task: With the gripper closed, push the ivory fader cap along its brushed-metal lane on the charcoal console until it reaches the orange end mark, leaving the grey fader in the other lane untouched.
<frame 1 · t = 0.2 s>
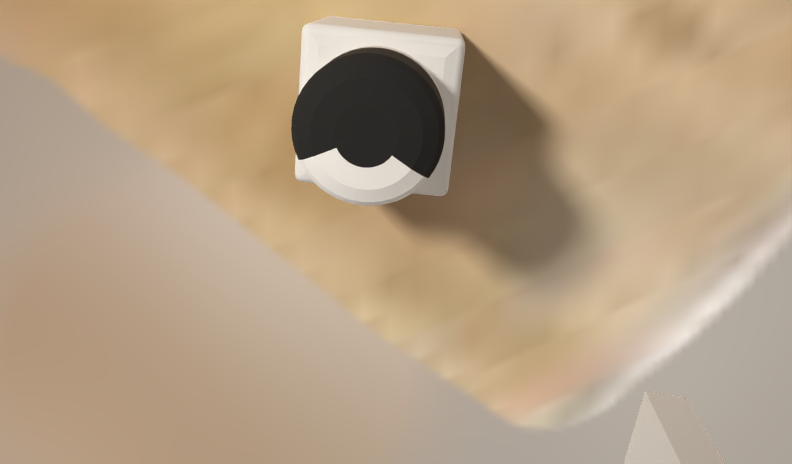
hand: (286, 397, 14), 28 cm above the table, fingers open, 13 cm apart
medicine bottle: (387, 90, 40), on the table
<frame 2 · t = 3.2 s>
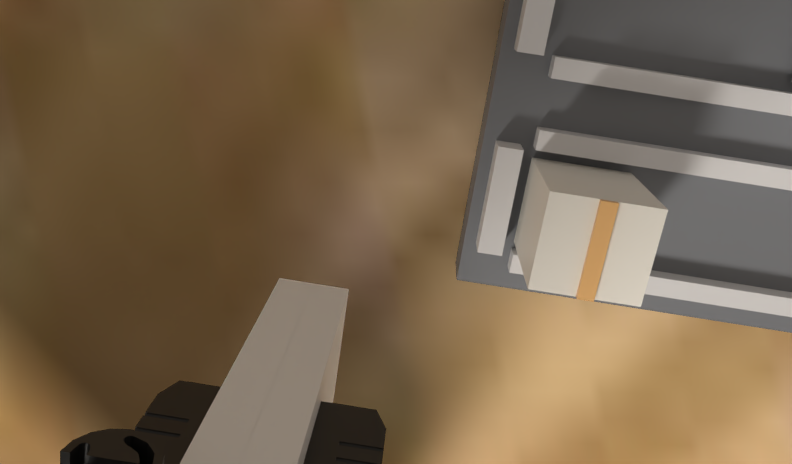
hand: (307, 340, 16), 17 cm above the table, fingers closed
console: (725, 123, 31), on the table
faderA: (583, 228, 28), point 5 cm above the table, slide at 0.0 cm
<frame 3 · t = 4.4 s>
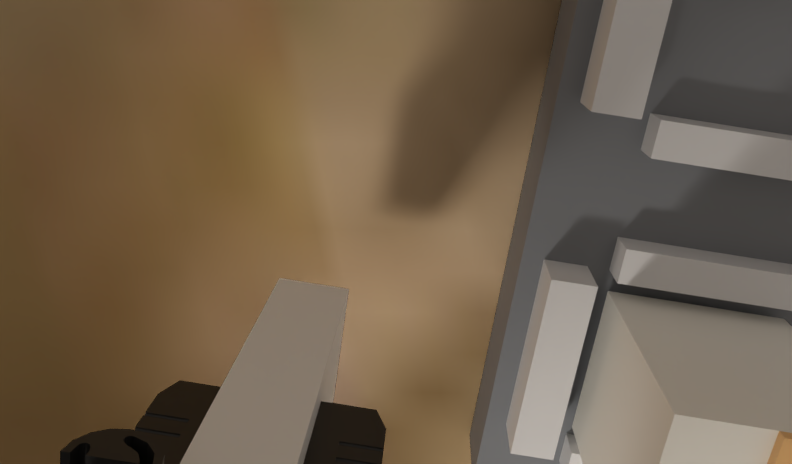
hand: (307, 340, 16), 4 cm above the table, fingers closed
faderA: (713, 440, 15), point 5 cm above the table, slide at 0.0 cm
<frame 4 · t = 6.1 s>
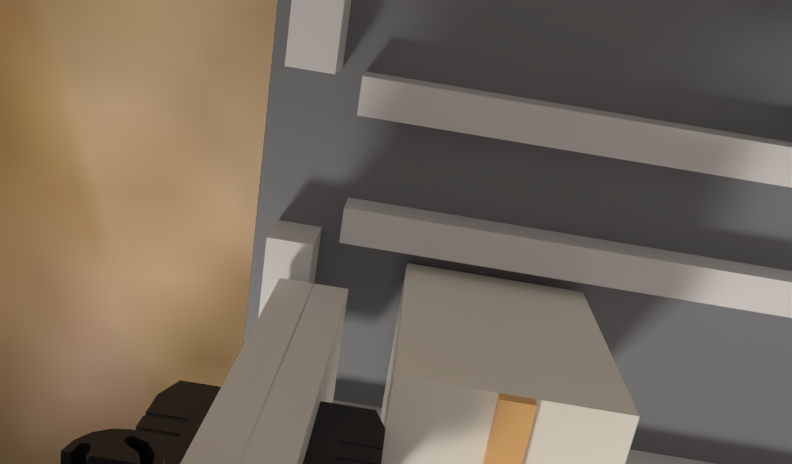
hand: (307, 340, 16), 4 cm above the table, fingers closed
console: (686, 189, 18), on the table
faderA: (486, 409, 15), point 5 cm above the table, slide at 1.5 cm, touching gripper
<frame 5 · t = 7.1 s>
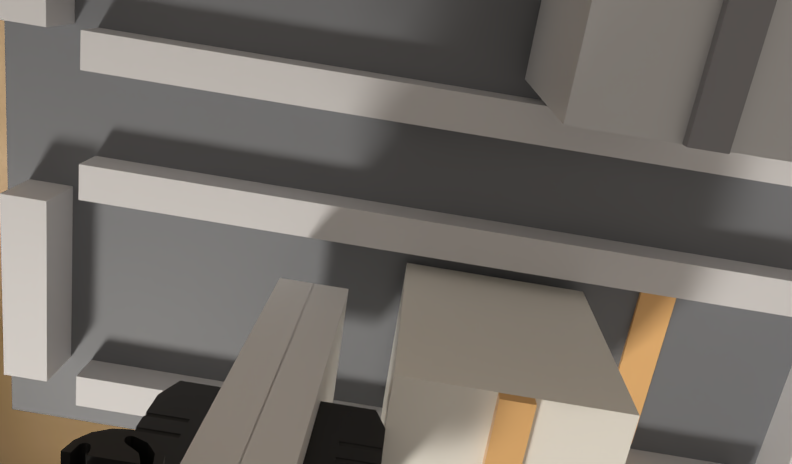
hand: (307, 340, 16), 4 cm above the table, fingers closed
console: (455, 150, 18), on the table
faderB: (685, 9, 12), point 5 cm above the table, slide at 0.0 cm
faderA: (486, 409, 15), point 5 cm above the table, slide at 7.3 cm, touching gripper
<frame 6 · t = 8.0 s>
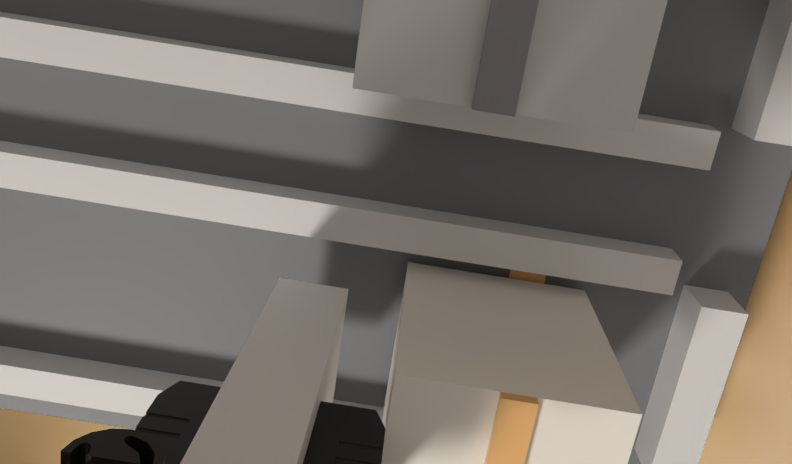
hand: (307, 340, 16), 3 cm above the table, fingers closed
console: (333, 129, 18), on the table
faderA: (488, 408, 15), point 5 cm above the table, slide at 10.3 cm, touching gripper
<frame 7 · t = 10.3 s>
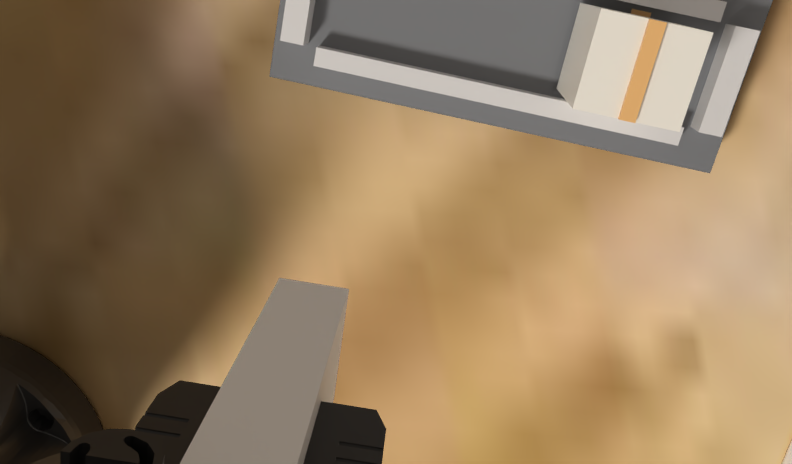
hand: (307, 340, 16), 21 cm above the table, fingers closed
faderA: (627, 63, 29), point 5 cm above the table, slide at 10.4 cm
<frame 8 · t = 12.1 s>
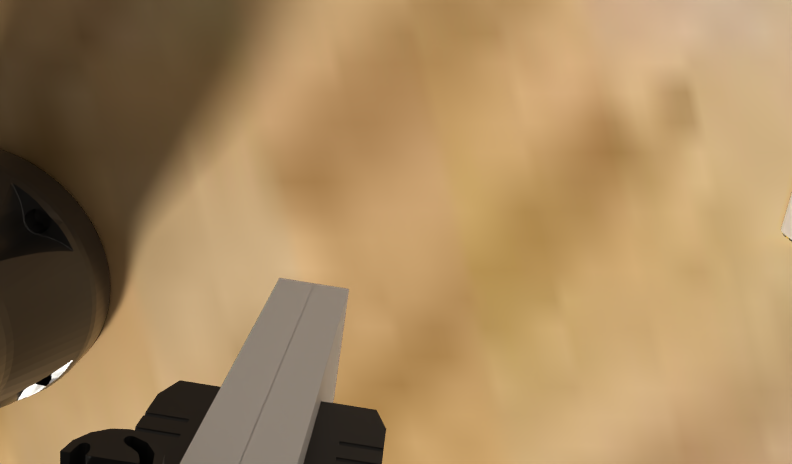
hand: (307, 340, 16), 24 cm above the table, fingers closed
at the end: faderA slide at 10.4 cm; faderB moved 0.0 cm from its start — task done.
